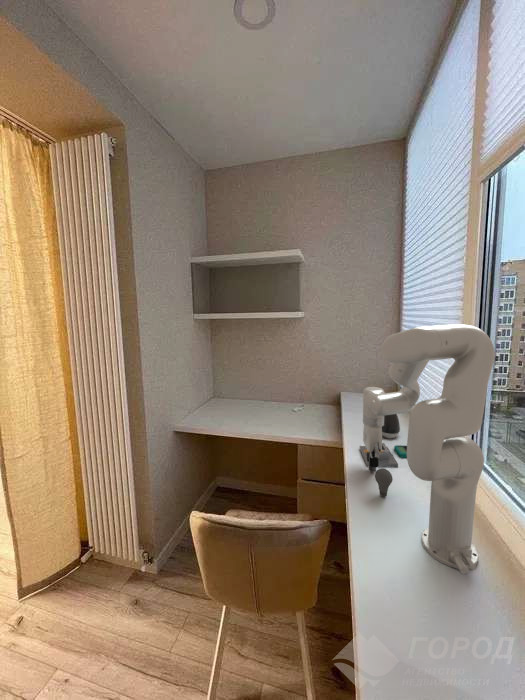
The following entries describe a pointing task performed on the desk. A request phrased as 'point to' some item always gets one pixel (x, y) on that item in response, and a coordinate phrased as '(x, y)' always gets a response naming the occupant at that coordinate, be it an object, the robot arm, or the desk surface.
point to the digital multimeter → (401, 451)
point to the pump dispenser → (391, 426)
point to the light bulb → (383, 480)
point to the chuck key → (372, 469)
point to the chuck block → (381, 457)
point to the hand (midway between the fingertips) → (372, 463)
